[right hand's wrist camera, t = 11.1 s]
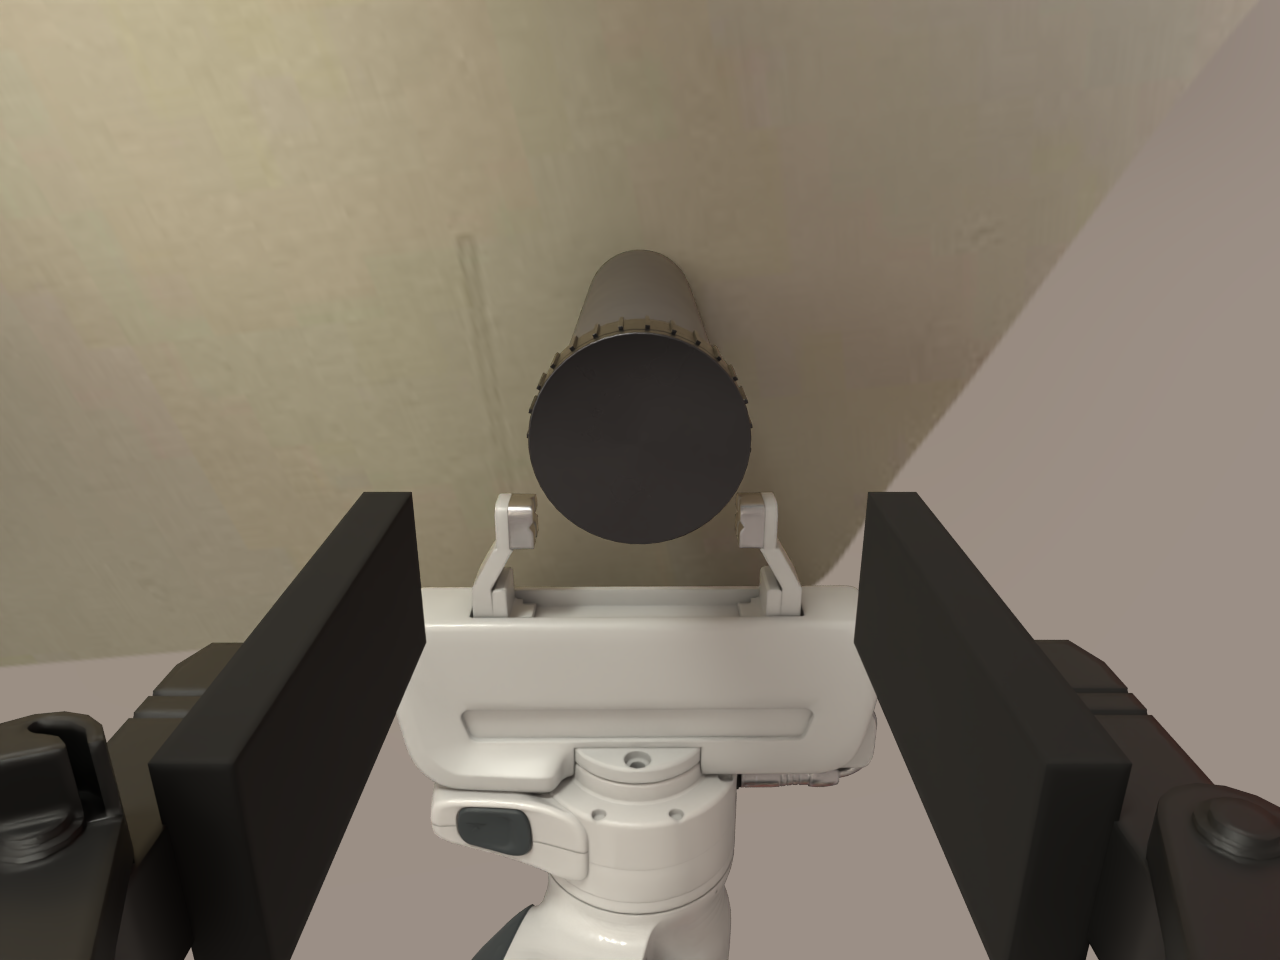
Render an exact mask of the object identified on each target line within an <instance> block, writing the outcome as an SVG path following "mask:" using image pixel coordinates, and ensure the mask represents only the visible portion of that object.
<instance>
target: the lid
mask: <svg viewBox="0 0 1280 960" xmlns="http://www.w3.org/2000/svg"><path fill="white" fill-rule="evenodd" d="M737 380H738V378H737V376H736V374H735V371H734V369H733V367H732V365H731V364H730V365H727V364H726V362H725V361H724V360H723V358H722V357H721V355H720V352H719V350H718V347H717V346H716V345H714V346H713V347H712V346H711V345H709V344H708V343H707V342H706V341H704V340H703V339H702V338H701V337H699V333H698V332H697V331H696V330H694V331H693V333H692V332H691V331H689V330H687V329H685V328H682V327H680V326H678V325H676V324H675V321H673V320H670V323H668V322H665V321H660V320H653V319H650V316H645V319H627V320H624V317H619V321H615V322H611V323H607V324H605V325H602V326H600V325H599V323H598V324H595V326H594V329H592V330H591V331H589V332H587V333H585V334H583V335H582V336H580V337H579V338H578V337H577V336H575V337H573V339H572V342H571V344H570V345H569V346H568V347H567V348H566V349H565V350H564V351H563V352H562V353H561V354H559V353H558V352H557V353H556V354H555V356H554V359H553V361H552V364H551V366H550V369H549V371H548V373H547V374H545V373H543V375H542V377H541V379H540V382H539V384H538V386H537V389H538V390H540V391H539V393H538V396H535V397H534V400H533V402H532V404H531V407H530V409H529V413H530V414H531V417H530V422H529V430H528V433H527V438H528V445H529V453H530V459H531V464H532V467H533V470H534V473H535V476H536V478H537V480H538V482H539V484H540V487H541V488H542V490H543V491H544V493H545V495H546V496H547V498H548V499H549V500H550V502H551V503H552V504H553V505H554V506H555V508H556V509H557V510H558V511H559V512H560V513H562V514H563V515H564V516H565V517H566V518H567V519H568V520H570V521H571V522H573V523H574V524H575V525H577V526H578V527H580V528H582V529H584V530H585V531H587V532H589V533H591V534H593V535H596V536H599V537H601V538H604V539H607V540H611V541H615V542H621V543H628V544H651V543H659V542H664V541H668V540H672V539H675V538H678V537H681V536H684V535H686V534H688V533H690V532H692V531H694V530H696V529H698V528H699V527H701V526H702V525H704V524H705V523H707V522H709V521H710V520H711V519H712V518H713V517H714V516H716V515H717V514H718V513H719V512H720V511H721V510H722V509H723V508H724V507H725V506H726V504H727V503H728V502H729V501H730V499H731V498H732V497H733V495H734V494H735V492H736V491H737V489H738V487H739V485H740V483H741V481H742V479H743V477H744V474H745V471H746V468H747V465H748V461H749V456H750V452H751V428H752V422H751V420H750V417H749V415H748V411H747V408H746V405H745V404H747V403H748V401H747V398H746V395H745V393H744V391H743V388H742V386H740V387H738V385H737V382H736V381H737Z"/></svg>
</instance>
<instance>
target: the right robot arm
mask: <svg viewBox="0 0 1280 960" xmlns="http://www.w3.org/2000/svg"><path fill="white" fill-rule="evenodd" d="M425 645H426V633H425V622H424V612H423V602H422V592H421V581H420V571H419V561H418V551H417V541H416V530H415V520H414V510H413V500H412V492H363V494H362V495H361V496H360V497H359V499H358V500H357V501H356V502H355V504H354V505H353V506H352V507H351V509H350V510H349V511H348V512H347V514H346V515H345V516H344V518H343V519H342V520H341V521H340V523H339V524H338V525H337V526H336V528H335V529H334V530H333V531H332V533H331V534H330V535H329V536H328V538H327V539H326V540H325V541H324V543H323V544H322V545H321V546H320V548H319V549H318V550H317V551H316V553H315V554H314V555H313V556H312V558H311V559H310V560H309V561H308V563H307V564H306V565H305V566H304V568H303V569H302V570H301V571H300V573H299V574H298V575H297V577H296V578H295V579H294V580H293V582H292V583H291V584H290V585H289V587H288V588H287V589H286V590H285V592H284V593H283V594H282V595H281V597H280V598H279V599H278V600H277V602H276V603H275V604H274V605H273V607H272V608H271V609H270V610H269V612H268V613H267V614H266V615H265V617H264V618H263V619H262V620H261V622H260V623H259V624H258V625H257V627H256V628H255V629H254V630H253V632H252V633H251V634H250V635H249V637H248V638H247V639H246V641H245V642H244V643H211V644H210V645H208V646H206V647H205V648H203V649H201V650H200V651H198V652H197V653H195V654H193V655H192V656H190V657H189V658H187V659H185V660H184V661H182V662H180V663H179V664H177V665H176V666H175V667H174V668H173V669H172V670H171V672H170V673H169V674H168V675H167V676H166V677H165V678H164V679H163V681H162V682H161V683H160V684H159V685H158V686H157V687H156V688H155V690H154V691H153V696H148V697H147V698H146V700H145V701H144V702H143V703H142V704H141V705H140V706H139V707H138V709H137V710H136V711H135V712H134V717H133V718H129V719H128V720H127V721H126V722H125V723H124V724H123V725H122V726H121V728H120V729H119V730H118V731H117V732H116V733H115V734H114V736H113V737H112V738H111V739H110V740H109V741H108V742H106V739H105V735H104V731H103V727H102V725H101V724H100V723H99V722H97V721H96V720H94V719H93V718H92V717H90V716H89V715H84V714H78V713H71V712H65V711H64V712H54V713H43V714H34V715H30V716H27V717H23V718H19V719H15V720H12V721H8V722H4V723H1V724H0V960H184V959H185V957H186V955H187V953H188V951H189V950H190V948H192V952H193V956H194V960H290V959H291V957H292V954H293V952H294V950H295V947H296V945H297V943H298V940H299V938H300V936H301V933H302V931H303V929H304V926H305V924H306V921H307V919H308V917H309V915H310V912H311V910H312V908H313V905H314V903H315V901H316V898H317V896H318V894H319V891H320V889H321V887H322V884H323V882H324V880H325V877H326V875H327V873H328V870H329V868H330V866H331V863H332V861H333V859H334V856H335V854H336V852H337V850H338V847H339V845H340V843H341V840H342V838H343V836H344V833H345V831H346V829H347V826H348V824H349V822H350V819H351V817H352V815H353V812H354V810H355V808H356V805H357V803H358V800H359V798H360V796H361V794H362V791H363V789H364V787H365V784H366V782H367V780H368V777H369V775H370V773H371V770H372V768H373V766H374V763H375V761H376V759H377V756H378V754H379V752H380V749H381V747H382V745H383V742H384V740H385V738H386V735H387V733H388V731H389V728H390V726H391V724H392V722H393V719H394V717H395V715H396V712H397V710H398V708H399V705H400V703H401V701H402V698H403V696H404V694H405V691H406V689H407V687H408V684H409V682H410V680H411V677H412V675H413V673H414V670H415V668H416V666H417V663H418V661H419V659H420V656H421V654H422V652H423V649H424V647H425ZM854 645H855V647H856V649H857V652H858V654H859V656H860V659H861V661H862V663H863V666H864V668H865V670H866V673H867V675H868V677H869V680H870V682H871V684H872V687H873V689H874V691H875V694H876V696H877V698H878V701H879V703H880V705H881V707H882V710H883V712H884V715H885V717H886V719H887V721H888V724H889V726H890V728H891V731H892V733H893V735H894V738H895V740H896V742H897V745H898V747H899V749H900V752H901V754H902V756H903V759H904V761H905V763H906V766H907V768H908V770H909V773H910V775H911V777H912V780H913V782H914V784H915V787H916V789H917V791H918V794H919V796H920V798H921V801H922V803H923V805H924V808H925V810H926V812H927V815H928V817H929V819H930V822H931V824H932V826H933V829H934V831H935V833H936V836H937V838H938V840H939V843H940V845H941V847H942V850H943V852H944V854H945V857H946V859H947V861H948V864H949V866H950V868H951V870H952V873H953V875H954V877H955V880H956V882H957V884H958V887H959V889H960V891H961V894H962V896H963V898H964V901H965V903H966V905H967V908H968V910H969V912H970V915H971V917H972V919H973V922H974V924H975V926H976V929H977V931H978V933H979V936H980V938H981V940H982V943H983V945H984V947H985V950H986V952H987V954H988V957H989V959H990V960H1086V956H1087V952H1088V948H1089V944H1090V945H1091V947H1092V949H1093V951H1094V952H1095V954H1096V956H1097V958H1098V959H1099V960H1280V807H1278V806H1276V805H1274V804H1272V803H1270V802H1268V801H1266V800H1264V799H1262V798H1260V797H1258V796H1256V795H1253V794H1250V793H1246V792H1243V791H1240V790H1237V789H1233V788H1230V787H1227V786H1221V785H1214V784H1213V783H1212V781H1211V780H1210V779H1209V778H1208V777H1207V776H1206V775H1205V774H1204V772H1203V771H1202V770H1201V769H1200V768H1199V767H1198V766H1197V765H1196V764H1195V763H1194V761H1193V760H1192V759H1191V758H1190V757H1189V756H1188V755H1187V754H1186V752H1185V751H1184V750H1183V749H1182V748H1181V747H1180V746H1179V745H1178V744H1177V742H1176V741H1175V740H1174V739H1173V738H1172V737H1171V736H1170V735H1169V734H1168V732H1167V731H1166V730H1165V729H1164V728H1163V727H1162V726H1161V725H1160V724H1159V722H1158V721H1157V720H1156V719H1155V718H1154V717H1153V716H1152V715H1147V709H1146V708H1145V707H1144V706H1143V705H1142V704H1141V702H1140V701H1139V700H1138V699H1137V698H1136V697H1135V696H1134V695H1133V694H1132V693H1128V691H1127V689H1128V688H1127V687H1126V686H1125V685H1124V683H1123V682H1122V681H1121V680H1120V679H1119V678H1118V677H1117V676H1116V675H1115V674H1114V672H1113V671H1112V670H1111V669H1110V668H1109V667H1108V666H1107V665H1106V663H1105V662H1103V661H1102V660H1100V659H1098V658H1097V657H1095V656H1093V655H1092V654H1090V653H1089V652H1087V651H1085V650H1084V649H1082V648H1080V647H1079V646H1077V645H1076V644H1074V643H1072V642H1071V641H1069V640H1034V639H1033V638H1032V637H1031V635H1030V634H1029V633H1028V632H1027V630H1026V629H1025V628H1024V627H1023V626H1022V624H1021V623H1020V622H1019V620H1018V619H1017V618H1016V617H1015V615H1014V614H1013V613H1012V612H1011V610H1010V609H1009V608H1008V607H1007V605H1006V604H1005V603H1004V602H1003V600H1002V599H1001V598H1000V597H999V595H998V594H997V593H996V592H995V590H994V589H993V588H992V587H991V585H990V584H989V583H988V582H987V580H986V579H985V578H984V577H983V575H982V574H981V573H980V572H979V570H978V569H977V568H976V566H975V565H974V564H973V563H972V561H971V560H970V559H969V558H968V556H967V555H966V554H965V553H964V551H963V550H962V549H961V548H960V546H959V545H958V544H957V543H956V541H955V540H954V539H953V538H952V536H951V535H950V534H949V533H948V531H947V530H946V529H945V528H944V526H943V525H942V524H941V523H940V521H939V520H938V519H937V518H936V516H935V515H934V514H933V513H932V511H931V510H930V509H929V507H928V506H927V505H926V504H925V502H924V501H923V500H922V499H921V497H920V496H919V495H918V494H917V493H916V492H868V500H867V510H866V520H865V530H864V541H863V551H862V561H861V571H860V581H859V592H858V602H857V612H856V622H855V633H854Z"/></svg>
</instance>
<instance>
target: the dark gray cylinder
mask: <svg viewBox="0 0 1280 960" xmlns="http://www.w3.org/2000/svg"><path fill="white" fill-rule="evenodd" d="M645 316H650V319H653V320H660V321H665V322H668V323H670V320H673V321H675V324H676V325H678V326H680V327H682V328H685V329H687V330H689V331H691V332H692V333H693V331H694V330H696V331H697V332H698V333H699V337H701V338H702V339H703V340H704V341H706V342H707V343H708V344H709V345H710V343H709V340H708V337H707V335H706V332H705V329H704V326H703V323H702V320H701V318H700V315H699V312H698V309H697V306H696V303H695V300H694V298H693V295H692V292H691V289H690V286H689V284H688V281H687V279H686V277H685V275H684V274H683V272H682V271H681V269H680V268H679V267H678V266H677V265H676V264H675V263H674V262H672V261H671V260H670V259H668V258H667V257H665V256H663V255H661V254H659V253H656V252H653V251H647V250H632V251H627V252H623V253H621V254H618V255H616V256H615V257H613V258H611V259H610V260H608V261H607V262H606V263H605V264H604V265H603V266H602V267H601V268H600V269H599V270H598V272H597V273H596V275H595V276H594V278H593V280H592V283H591V285H590V288H589V291H588V293H587V296H586V299H585V302H584V305H583V308H582V310H581V313H580V316H579V319H578V322H577V325H576V327H575V330H574V333H573V336H572V339H573V337H575V336H577V337H578V338H579V337H580V336H582V335H583V334H585V333H587V332H589V331H591V330H592V329H594V326H595V324H598V323H599V325H600V326H602V325H605V324H607V323H611V322H615V321H619V317H624V320H627V319H645ZM572 339H571V341H570V344H571V342H572ZM570 344H569V345H570Z"/></svg>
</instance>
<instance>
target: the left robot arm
mask: <svg viewBox="0 0 1280 960" xmlns="http://www.w3.org/2000/svg"><path fill="white" fill-rule="evenodd" d="M736 508H737V511H738V512H737V513H736V514H735V533H736V536H737V537H738V545H739V548H760V550H761V552H762V554H763V556H764V557H765V559H766V561H767V563H768V564H769V566H763V567H762V568H760V584H759V586H654V587H514V577H513V569H512V568H511V567H504V566H505V564H506V562H507V560H508V559H509V557H510V555H511V553H512V551H513V549H534V546H535V542H536V537H537V534H538V515H537V514H536V513H535V512H536V509H537V495H536V494H512V493H504V494H499V496H498V499H497V501H496V505H495V529H496V539H495V541H494V543H493V545H492V546H491V548H490V550H489V552H488V553H487V555H486V557H485V559H484V561H483V562H482V564H481V566H480V568H479V571H478V573H477V576H476V579H475V582H474V584H473V587H425V588H421V592H422V602H423V612H424V622H425V633H426V645H425V647H424V649H423V652H422V654H421V656H420V659H419V661H418V663H417V666H416V668H415V670H414V673H413V675H412V677H411V680H410V682H409V684H408V687H407V689H406V691H405V694H404V696H403V698H402V701H401V703H400V705H399V708H398V710H397V712H396V714H397V718H398V722H399V726H400V729H401V732H402V736H403V739H404V742H405V746H406V748H407V751H408V753H409V755H410V757H411V759H412V761H413V762H414V764H415V765H416V767H417V768H418V769H419V770H420V771H421V772H422V773H423V774H424V775H425V776H426V777H428V778H429V779H430V780H432V781H434V782H435V784H434V789H433V795H432V804H431V825H432V829H433V831H434V833H435V834H436V835H437V836H438V837H439V838H441V839H442V840H445V841H447V842H450V843H453V844H457V845H460V846H465V847H469V848H473V849H477V850H481V851H485V852H489V853H493V854H496V855H499V856H503V857H506V858H509V859H513V860H516V861H519V862H522V863H525V864H527V865H530V866H533V867H536V868H538V869H540V870H543V871H545V872H548V887H547V890H546V893H545V896H544V899H543V901H542V902H541V904H539V905H538V906H534V905H533V904H532V905H530V906H528V907H527V908H525V909H524V910H522V911H521V912H519V913H518V914H517V915H516V916H515V917H513V918H512V919H511V920H510V921H509V922H508V923H507V924H506V925H505V926H504V927H503V928H502V929H501V930H500V931H499V932H498V933H497V934H495V935H494V936H493V937H492V938H491V939H490V940H489V941H488V942H487V943H486V944H485V945H484V946H483V947H482V948H481V949H480V950H479V952H478V953H477V954H476V955H475V956H474V957H473V959H472V960H728V956H729V946H730V930H731V910H730V904H729V898H728V895H727V891H726V888H725V886H724V884H725V882H726V879H727V877H728V874H729V872H730V869H731V865H732V860H733V855H734V841H735V819H736V789H738V788H739V787H779V786H785V785H792V784H793V785H797V784H799V785H808V786H812V787H825V786H832V785H836V784H838V782H839V778H840V777H845V776H848V775H851V774H853V773H855V772H857V771H859V770H860V769H861V768H863V767H865V766H867V765H868V764H869V763H870V761H871V759H872V757H873V753H874V746H875V737H876V728H877V719H876V715H875V712H874V708H875V705H876V701H877V696H876V694H875V691H874V689H873V687H872V684H871V682H870V680H869V677H868V675H867V673H866V670H865V668H864V666H863V663H862V661H861V659H860V656H859V654H858V652H857V649H856V647H855V645H854V633H855V622H856V612H857V602H858V592H859V590H858V589H856V588H855V587H852V586H801V584H800V582H799V579H798V576H797V574H796V571H795V568H794V565H793V564H792V562H791V560H790V558H789V557H788V555H787V553H786V552H785V550H784V548H783V546H782V545H781V543H780V541H779V540H778V538H777V527H778V505H777V501H776V498H775V496H774V493H773V492H756V493H737V494H736Z"/></svg>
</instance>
